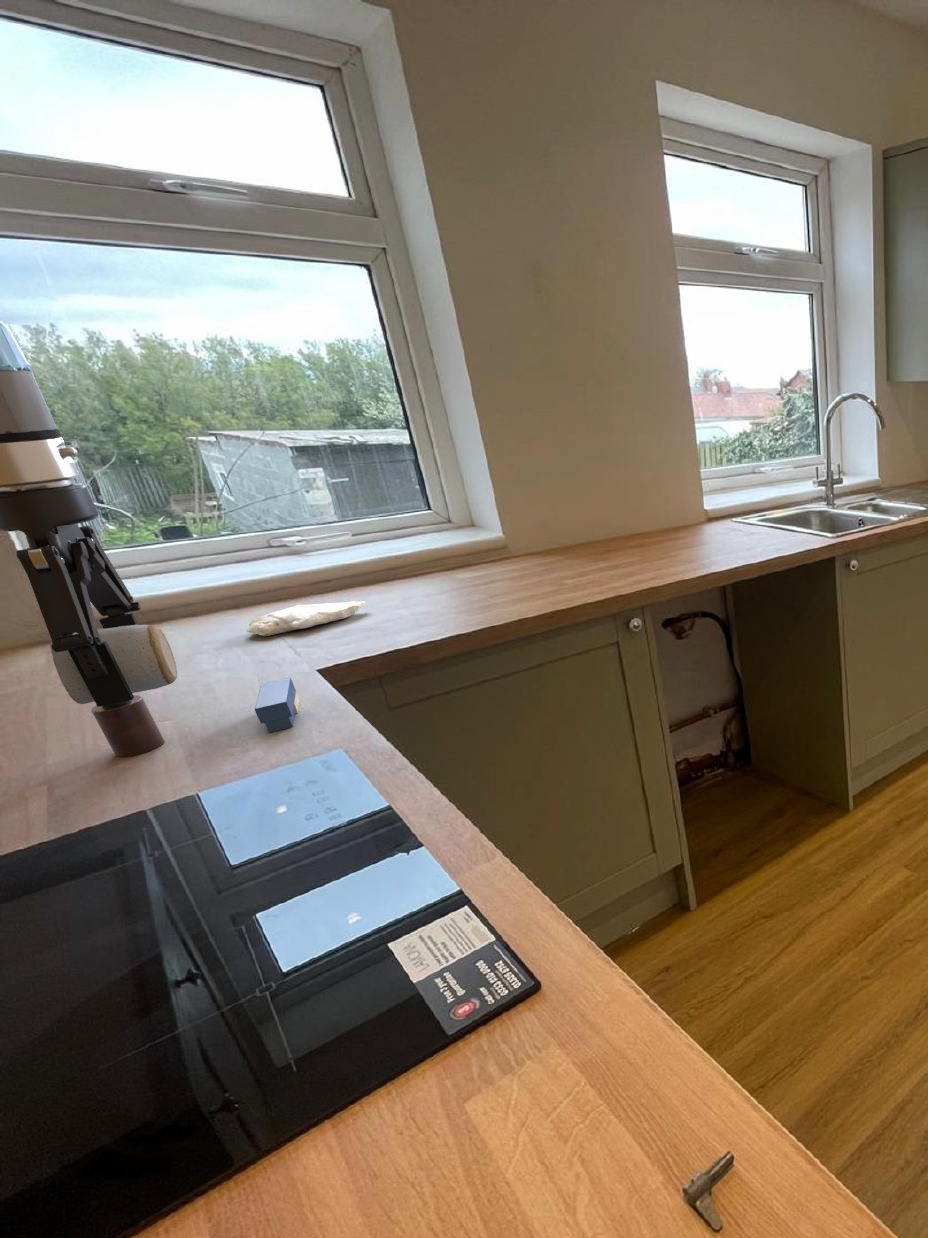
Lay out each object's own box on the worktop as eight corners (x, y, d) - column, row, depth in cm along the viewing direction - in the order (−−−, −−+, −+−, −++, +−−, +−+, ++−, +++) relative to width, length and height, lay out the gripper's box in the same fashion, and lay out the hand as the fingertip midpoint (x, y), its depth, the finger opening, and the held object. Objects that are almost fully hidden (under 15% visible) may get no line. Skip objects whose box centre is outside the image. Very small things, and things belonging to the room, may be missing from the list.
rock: (248, 628, 146) (364, 606, 158) (249, 646, 136) (373, 620, 148) (241, 611, 144) (359, 589, 156) (242, 627, 135) (367, 603, 147)
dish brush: (296, 726, 104) (286, 701, 102) (265, 734, 102) (254, 708, 100) (300, 700, 112) (290, 677, 111) (271, 707, 110) (261, 683, 109)
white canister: (180, 690, 80) (150, 625, 77) (76, 714, 75) (39, 645, 72) (185, 665, 87) (158, 605, 84) (90, 685, 82) (58, 622, 79)
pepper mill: (111, 761, 97) (78, 701, 93) (120, 746, 100) (89, 688, 97) (161, 749, 99) (131, 690, 96) (167, 735, 103) (139, 678, 99)
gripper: (44, 495, 65) (151, 711, 74) (112, 469, 83) (191, 646, 91) (-82, 507, 61) (47, 733, 70) (18, 477, 79) (111, 661, 88)
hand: (129, 684), depth 81 cm, fingers closed on white canister, 11 cm apart
